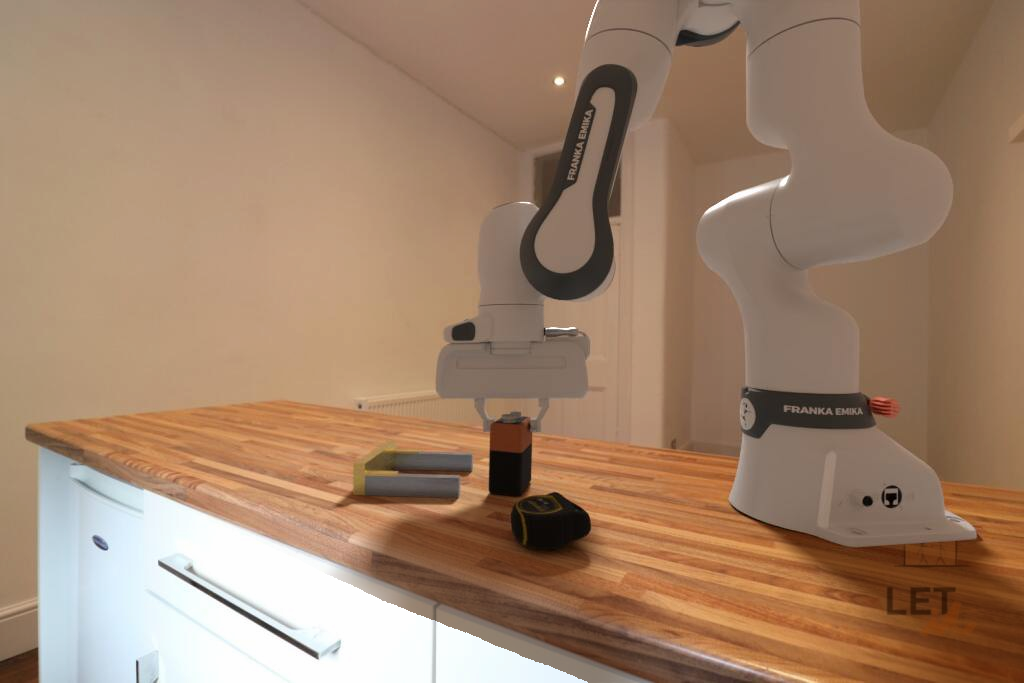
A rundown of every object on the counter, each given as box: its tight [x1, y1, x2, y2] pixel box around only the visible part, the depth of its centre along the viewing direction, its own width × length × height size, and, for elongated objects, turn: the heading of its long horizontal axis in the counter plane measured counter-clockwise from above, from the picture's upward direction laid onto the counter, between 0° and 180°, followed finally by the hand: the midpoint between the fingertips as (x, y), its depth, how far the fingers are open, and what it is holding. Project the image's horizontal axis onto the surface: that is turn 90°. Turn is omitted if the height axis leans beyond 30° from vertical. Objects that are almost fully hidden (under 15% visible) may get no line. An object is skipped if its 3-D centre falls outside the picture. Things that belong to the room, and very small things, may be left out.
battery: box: [488, 410, 533, 497], centre depth 60 cm, size 4×7×10 cm, turn 165°
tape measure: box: [510, 491, 592, 550], centre depth 44 cm, size 7×7×4 cm
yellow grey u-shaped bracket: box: [352, 440, 474, 499], centre depth 63 cm, size 14×12×4 cm
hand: (512, 431), depth 60 cm, fingers closed on battery, 5 cm apart
